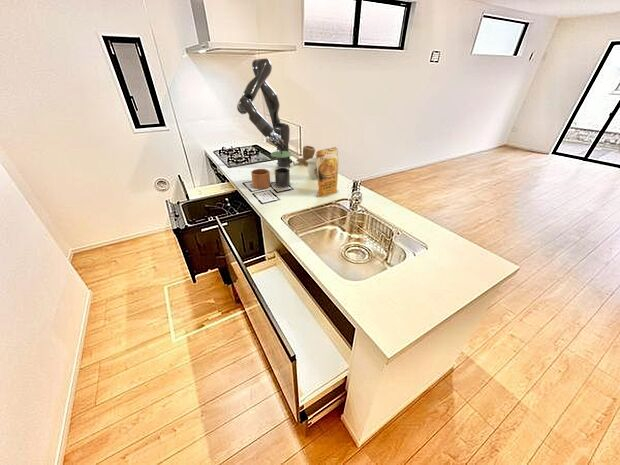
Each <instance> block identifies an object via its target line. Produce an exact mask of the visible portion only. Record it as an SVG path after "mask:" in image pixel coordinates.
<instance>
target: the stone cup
mask: <svg viewBox="0 0 620 465" xmlns="http://www.w3.org/2000/svg"><path fill="white" fill-rule="evenodd" d="M315 154H316V148H315V147H314V146H311V145H304V146H303V148H302V157H299V158H296V162H298V164H299V163H300V164H299V165H302V166H304V167H308V162H306V160H308V159H311V158H314V156H315Z"/></svg>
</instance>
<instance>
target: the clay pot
mask: <svg viewBox="0 0 620 465" xmlns="http://www.w3.org/2000/svg"><path fill="white" fill-rule="evenodd" d="M270 173H271V172H270V170H269V169H266V168H257V169H253V170H251V172H250V174H251V183H252V187H253V188H255V189H260V190H262V189H268V188H269V187H271V174H270Z"/></svg>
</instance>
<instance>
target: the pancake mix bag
mask: <svg viewBox="0 0 620 465" xmlns="http://www.w3.org/2000/svg"><path fill="white" fill-rule="evenodd" d="M315 158H316V163H317V173H318V179H317V186H318V190H317V197H321V198H323V197H327V196H330V195H334V194H336V193H337V191H338V177H339V151H338V147H336V146H333V147H330V148H323V149H320V150H317V151H315Z"/></svg>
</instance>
